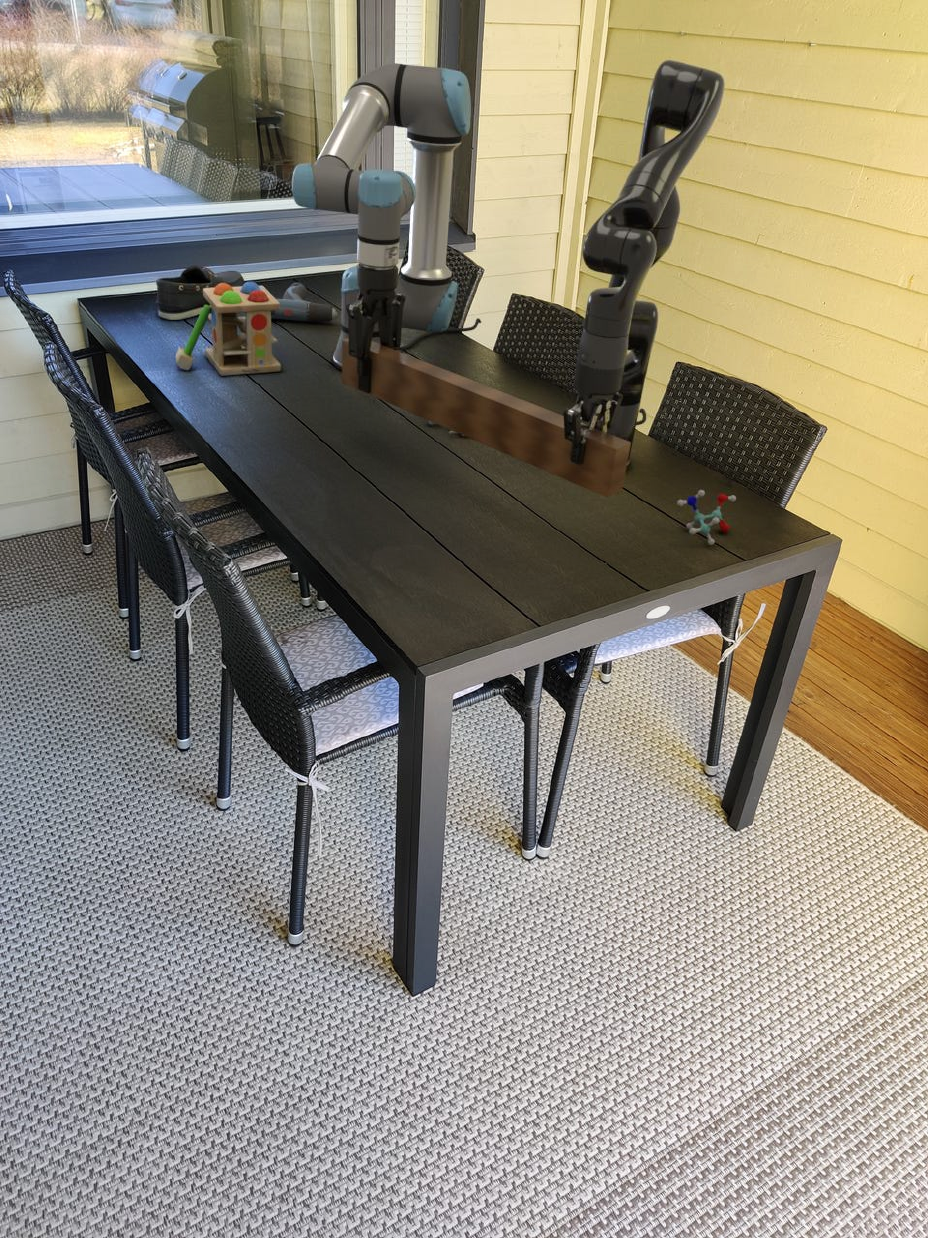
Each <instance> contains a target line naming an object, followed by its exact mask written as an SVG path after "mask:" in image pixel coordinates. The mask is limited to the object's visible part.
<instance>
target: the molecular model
mask: <svg viewBox="0 0 928 1238" xmlns="http://www.w3.org/2000/svg"><path fill="white" fill-rule="evenodd" d="M705 495H706V492H705V490H703V489H699V490H698V492H697V494H695V495H691V496H689V497H687V499H686V500H685V499H684V500H683V499H678V500H677V502H676V505H677V506H678V507H683V506H684V505H686V504H687V505H689V506H692V509H693V510H694V513H695V515H694V520H693V521H691V522H688V523H687V524H686V526H685V528H686V530H689V531H688V532H689V534H690V535H693V536H694V535H696V533H701V534H703V535H705V536H706V538H707V544H708V545H709V546H713V545H714V544H715V542H716V541H715V539H714V538H712V536H711V534H710V532H711V527H713V525H719V527H720V531H721V532H723V533H727V532H728V531H729V530H730V525H729V524H728V523H726V522H725V521H724V519H723V518H722V512H721V508H722V505H723V503H725V502H727V501H730V502H732V503H734V502H736V500H737V497H736V496H735V495H733V494H732V495H730V496H727V495H726V494H724V493H719V494H718V496H717V502H718V504H717V506H716V509H715V510H713V511H712V512H711V514H706V515H704V514H703V513H700V511H699V510H698V507H697V505H696V504H697V502H698V501H697V500H698V499H699V498H703V497H704V496H705ZM707 519H712V520H711V521H710V522H709V523H705V520H707ZM696 524H700V527H699V528H696V527H694V525H696Z"/></svg>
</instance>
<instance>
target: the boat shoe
mask: <svg viewBox="0 0 928 1238" xmlns="http://www.w3.org/2000/svg"><path fill="white" fill-rule="evenodd" d="M155 281H156V282H155V284H156V289H157V291H156V299H157V300H155V304H156V305H157V306H158V308H157V310H158V311H157V312H158V316H159V317H160V318H162V319H165V320H170V321H173V320H174V321H176V320H177V321H178V320H184V319H188V318H191V317H195V316H198V315H199V316H200V314H201V311H202V309H203V307H204V305H208V306H210V307H211V305H210V304H209V302H208V301H207V300H206V299H205V297H204V296H203V289H204V288H215V287H216V286H217V285H218V284H221V283H226V284H228V285H230V286H231V287H242V286H243V285H244V284H245V283H246V282H245V279H244V276H242V274H241V272H239V271H238V270H226V271H220V272H216V273H215V272H214V271H212V270H211V269H210V268H207V267H205V266H202V265H198V264H192V265H190V266H188V267H186V268H185V269H184V270H183V271H182V272H181V273H180V275H178V276H173V277H172V276H171V277H159V278H157V279H156V280H155Z"/></svg>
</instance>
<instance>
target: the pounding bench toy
mask: <svg viewBox="0 0 928 1238" xmlns="http://www.w3.org/2000/svg"><path fill="white" fill-rule="evenodd" d="M203 296H204V297H205V299H206V300H207V301H208V302H209V304H210V305H211V307H210V306H208V305H204V307H203V309H202V311H201V314H199V316H198V318H197V320H196V322H195V324H194V327H193V329H192V331H191V332H190V333H191V334H190V336H189V338H188V340H187V343H186V344H185V347H184V348H182V347H180V346H179V347H178V349H177V351H176V354H175V357H174V358H175V362H176V365H177V366H178V368H179V369H182V370H185V371H189V370H190V369H191V367H192V365H193V363H194V356H193V351H194V348H195V347H196V345H197V342H198V340H199V337H200V336H201V333H202V332H203V329H204V326H205V325H206V322H207V320H209V321H210V322H211V336H212V337H211V338H212V339H211V340H212V348H205V349H204V352H205V353H204V355H205V357H206V359H208V361H209V363H210V364H211V365H212V366H213V367H214V369H215V370H216V371H217V372H218V374H219V375H220V376H222V377H223V376H234V375H235V376H236V375H246V374H247V375H250V374H262V373H275V372H281V370H282V364H281V363H280V362H279V360H278V359H277V358H276V357H275V356H274V355H273V348H272V347H273V345H272V344H276V343H278V342H279V341H278V339H277V338H276V337H275V336H274V334H272V318H271V310H280V303H279V302H278V301H277V300H276V299H277V298H276V297H274V296H273V295H272V294H271V293H270V292H269V290H268V289H267V288H266V287H264V285H259V284H257V283H256V282H255V281H247V282H245V284H244V285H243V286H242V287H231V286H230V285H228V284H226V283H221V284H218V285H217V286H216V287H215V288H204V289H203ZM238 313H244V314H245V315H244V316H238ZM238 329H239V331H240V333H239V334H238Z"/></svg>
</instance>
